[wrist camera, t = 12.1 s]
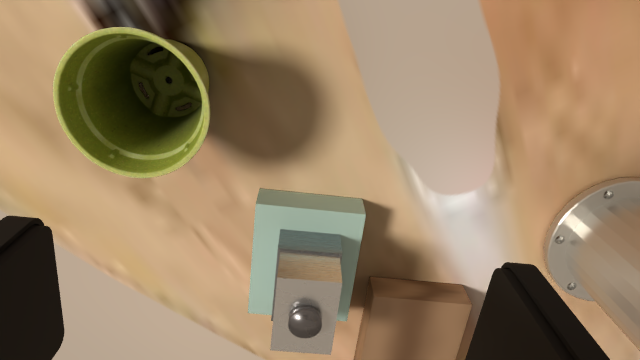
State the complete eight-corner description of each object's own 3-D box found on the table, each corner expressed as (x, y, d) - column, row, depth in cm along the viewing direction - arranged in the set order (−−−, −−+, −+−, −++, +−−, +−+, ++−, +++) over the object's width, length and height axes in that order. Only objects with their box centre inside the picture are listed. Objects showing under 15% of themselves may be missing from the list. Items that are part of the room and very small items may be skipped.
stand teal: (362, 198, 40) (365, 214, 38) (344, 300, 45) (346, 321, 42) (259, 188, 40) (255, 203, 37) (251, 292, 44) (247, 313, 41)
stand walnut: (462, 284, 44) (472, 304, 41) (437, 370, 48) (444, 394, 46) (369, 276, 44) (373, 296, 41) (352, 364, 48) (355, 387, 45)
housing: (340, 234, 38) (346, 287, 32) (329, 302, 41) (333, 364, 34) (280, 228, 38) (273, 281, 31) (273, 297, 41) (266, 360, 34)
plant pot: (252, 110, 37) (235, 145, 29) (150, 154, 38) (108, 199, 30) (194, -5, 34) (158, -1, 26) (85, 48, 35) (19, 67, 27)
